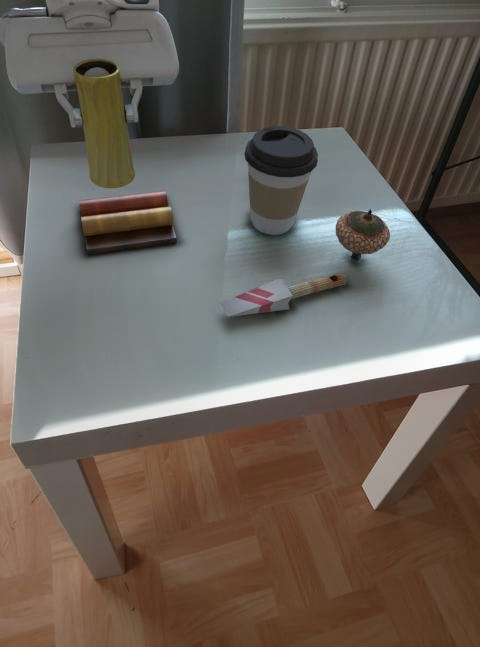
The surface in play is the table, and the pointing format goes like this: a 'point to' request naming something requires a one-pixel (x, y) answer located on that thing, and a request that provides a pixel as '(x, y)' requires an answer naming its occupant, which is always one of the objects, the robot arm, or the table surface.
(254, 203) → the coffee cup
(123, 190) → the table surface
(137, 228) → the rod rack
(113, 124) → the vase
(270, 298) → the sheathed knife
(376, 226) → the acorn
